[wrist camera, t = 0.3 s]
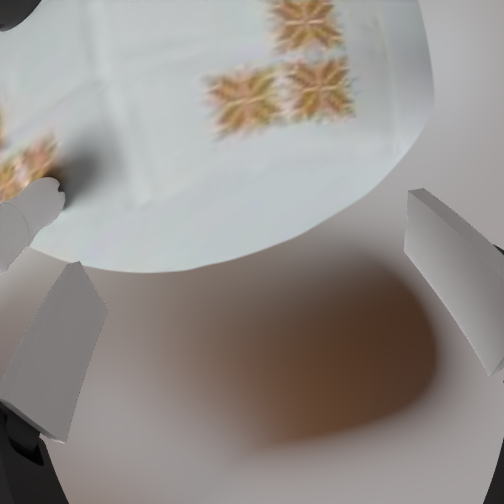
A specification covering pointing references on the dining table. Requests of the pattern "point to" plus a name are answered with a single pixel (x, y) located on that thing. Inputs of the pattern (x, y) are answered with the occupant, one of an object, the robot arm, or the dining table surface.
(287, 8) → the dining table surface
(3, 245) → the water bottle
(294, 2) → the dining table surface
